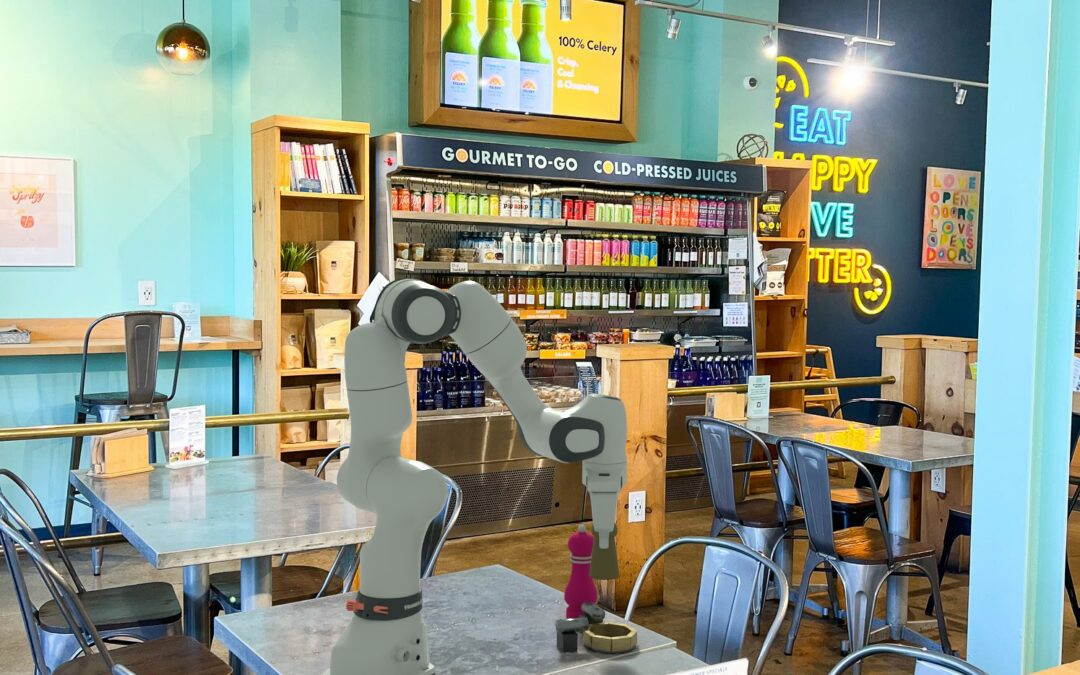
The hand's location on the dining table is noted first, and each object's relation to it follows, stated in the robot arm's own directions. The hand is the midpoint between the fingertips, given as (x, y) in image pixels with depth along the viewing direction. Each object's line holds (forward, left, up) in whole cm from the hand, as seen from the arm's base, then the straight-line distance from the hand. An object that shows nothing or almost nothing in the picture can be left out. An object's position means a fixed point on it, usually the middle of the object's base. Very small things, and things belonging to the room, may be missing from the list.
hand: (604, 544), depth 209 cm
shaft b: (+5, +4, -20) cm, 21 cm away
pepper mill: (+14, +10, -20) cm, 27 cm away
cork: (0, 0, -7) cm, 7 cm away
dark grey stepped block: (-6, +4, -20) cm, 21 cm away
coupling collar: (-1, -2, -20) cm, 20 cm away
